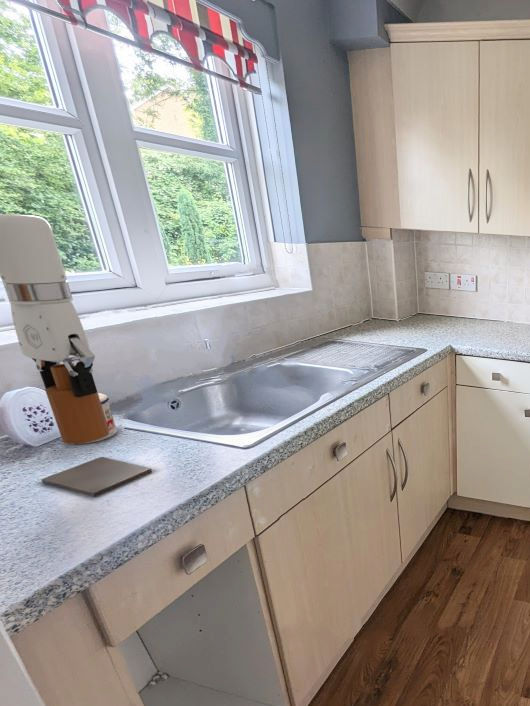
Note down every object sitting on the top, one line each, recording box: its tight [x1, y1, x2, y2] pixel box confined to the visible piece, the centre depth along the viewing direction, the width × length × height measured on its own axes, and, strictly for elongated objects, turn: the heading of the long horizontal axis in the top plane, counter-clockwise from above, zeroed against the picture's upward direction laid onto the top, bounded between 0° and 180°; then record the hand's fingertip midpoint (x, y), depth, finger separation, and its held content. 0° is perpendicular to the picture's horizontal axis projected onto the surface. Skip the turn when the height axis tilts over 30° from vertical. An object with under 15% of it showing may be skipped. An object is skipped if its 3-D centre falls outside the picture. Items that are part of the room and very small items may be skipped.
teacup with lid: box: [78, 392, 118, 445], centre depth 104 cm, size 12×9×12 cm
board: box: [41, 456, 153, 498], centre depth 88 cm, size 14×10×1 cm
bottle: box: [44, 362, 109, 445], centre depth 83 cm, size 6×6×14 cm
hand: (72, 391), depth 83 cm, fingers closed on bottle, 6 cm apart
